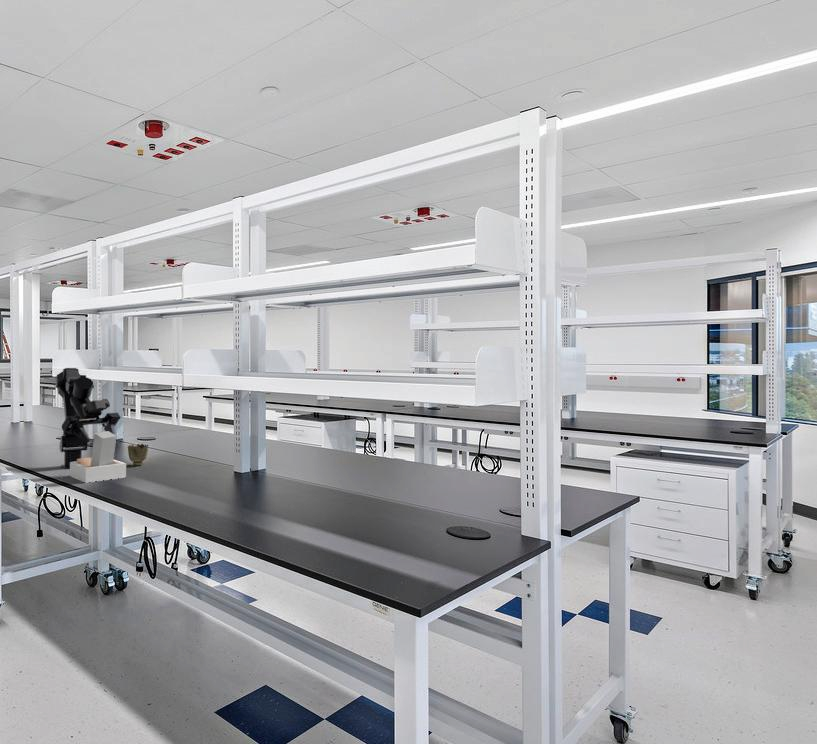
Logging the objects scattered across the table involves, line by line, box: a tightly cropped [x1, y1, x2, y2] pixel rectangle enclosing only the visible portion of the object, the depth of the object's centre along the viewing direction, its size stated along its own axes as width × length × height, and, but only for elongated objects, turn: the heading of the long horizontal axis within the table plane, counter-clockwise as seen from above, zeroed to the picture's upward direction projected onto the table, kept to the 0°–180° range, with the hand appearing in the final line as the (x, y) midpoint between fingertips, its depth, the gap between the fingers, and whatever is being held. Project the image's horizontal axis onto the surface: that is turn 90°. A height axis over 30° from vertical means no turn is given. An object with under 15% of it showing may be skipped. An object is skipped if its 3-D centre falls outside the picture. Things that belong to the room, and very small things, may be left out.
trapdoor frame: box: [69, 459, 127, 484], centre depth 204 cm, size 15×13×5 cm
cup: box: [127, 443, 149, 467], centre depth 226 cm, size 8×7×8 cm
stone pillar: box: [90, 431, 117, 467], centre depth 200 cm, size 5×5×12 cm
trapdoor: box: [77, 456, 114, 467], centre depth 204 cm, size 12×10×4 cm
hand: (101, 440), depth 201 cm, fingers open, 9 cm apart
